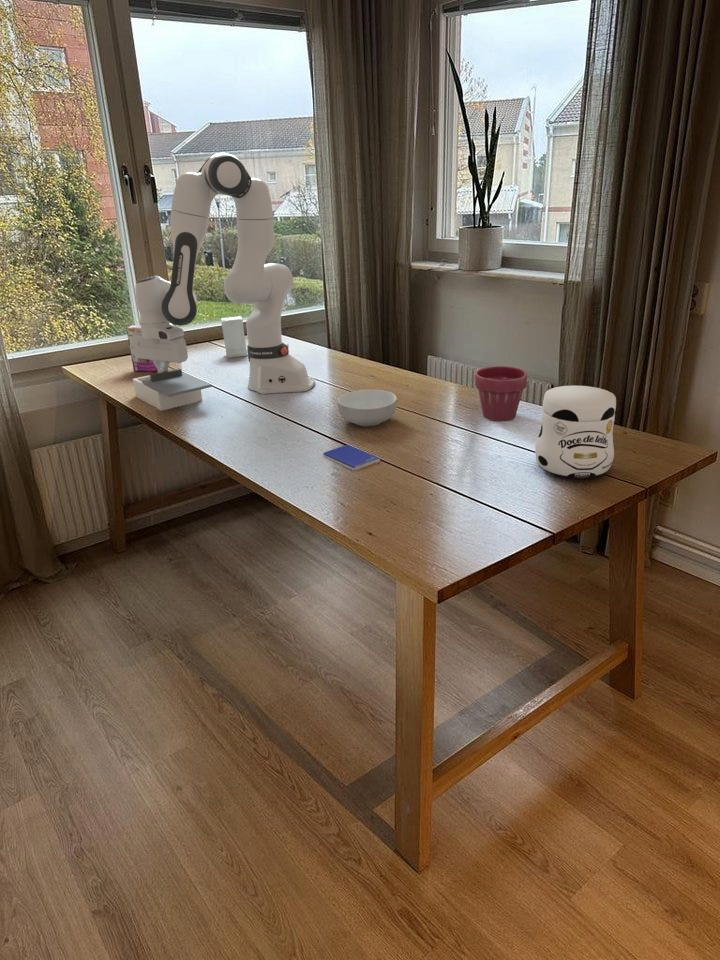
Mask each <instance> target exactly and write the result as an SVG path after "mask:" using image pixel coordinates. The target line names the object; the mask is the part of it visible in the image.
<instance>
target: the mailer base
mask: <svg viewBox="0 0 720 960" xmlns="http://www.w3.org/2000/svg"><path fill="white" fill-rule="evenodd" d="M147 379H150V374H149V375H144V376H139V377H135V378H132V383H133V387H134V395H135V397H136V398H138V399H140V400H141V401H143V402H144V403H146V404H148V405H150V406H151V407H153V406H154V407H153V408H155V407H156V408H155V409H157V410H158V411H161V412H162V411H166V410H169V409H174V407H175V408H178V406H179V407H182V405H183V406H186V404H187V405H190V403H191V404H194V402H195V403H198V401H199V402H203V395H202V389H201V390H196V391H192V392H188V393H183V394H179V395H175V396H171V397H168V396H166V395H164V394H162V393H160V392H159V391H157V390H155V389H153V388H151V387H149V386H147V385H145V384H143V383H142V381H143V380H147Z"/></svg>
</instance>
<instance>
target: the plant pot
mask: <svg viewBox="0 0 720 960" xmlns="http://www.w3.org/2000/svg"><path fill="white" fill-rule="evenodd" d="M474 386H475V388H476V389H478V395H479V396H478V397H479V401H480V406H481V407H480V408H481V411H482V416H483V418H484V419H487V420H489V421H493V422H506V421H511V420H513V419H515V418H516V415H517V411H518V408H519V406H520V402H521V398H522V394H523V391H524V389H526V388H527V386H528V373H527V372H526V370H525V369H521V368H518V367H514V366H506V365H505V366H503V365H500V366H499V365H498V366H497V365H495V366H489V367H483V368H480V369H478V370H476V371H475V374H474Z"/></svg>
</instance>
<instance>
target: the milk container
mask: <svg viewBox="0 0 720 960" xmlns="http://www.w3.org/2000/svg"><path fill="white" fill-rule="evenodd" d="M616 409H617V398H616V395H615V394H614V393H613V392H610V391H608V390H607V389H603V388H599V387H595V386H588V385H561V386H557V387H553V388H552V387H551V388H550V389H547V390H546V392H545V393H544V396H543V401H542V411H541V427H540V430H539V431H540V432H539V435H538V436H537V439H536V443H535V447H534V448H535V449H534V450H535V451H534V453H535V454H534V455H535V459H536V460H535V461H536V463H537V465H538V467H540V469H542V470H543V471H544V472H546V473H548V474H551V475H553V476H556V477H561V478H565V479H572V480H573V479H574V480H583V479H585V480H586V479H592V478H596V477H600V476H601V475H604V474H605V473H607V472H608V471H609V470H610V468H611V466H612V464H613V460H614V457H615V445H614V438H613V433H614V432H613V431H614V423H615V417H616V413H615V412H616Z"/></svg>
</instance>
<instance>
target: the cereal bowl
mask: <svg viewBox="0 0 720 960" xmlns="http://www.w3.org/2000/svg"><path fill="white" fill-rule="evenodd" d="M397 406H398V398H397V396H396V394H395V393H393V392H391V391H388V390H383V389H370V388H369V389H357V390H354V391H353V390H352V391H349V392H345V393H343V394H342V395H340V396H339V397H337V409H338V413H339V414H340V415H341V417H342V418H343V419H344V420H346V421H347V422H349V423H353V424H355V425H357V426H359V427H374V426H375V427H376V426H378V425H380V424H381V423H383V422H386V421H388V420H390V418H392V417H393V416H394V414H395V413H396V411H397Z"/></svg>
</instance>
